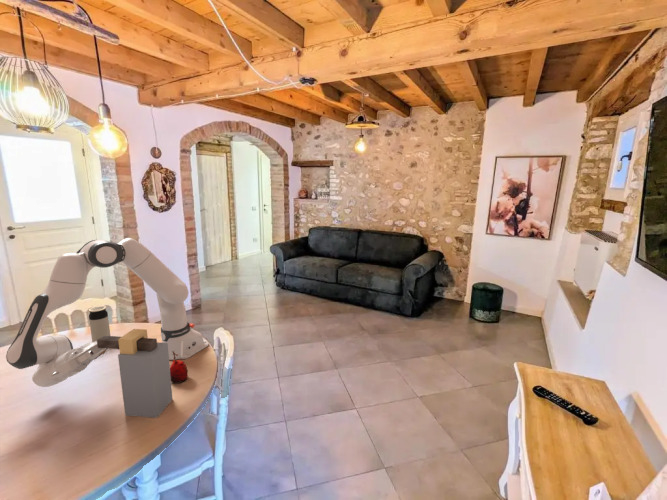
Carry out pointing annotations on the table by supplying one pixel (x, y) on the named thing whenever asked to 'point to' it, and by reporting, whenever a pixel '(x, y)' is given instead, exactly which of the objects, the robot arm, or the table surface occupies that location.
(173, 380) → the red clay folk toy
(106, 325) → the travel mug
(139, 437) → the table surface
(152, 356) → the post
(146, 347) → the block
